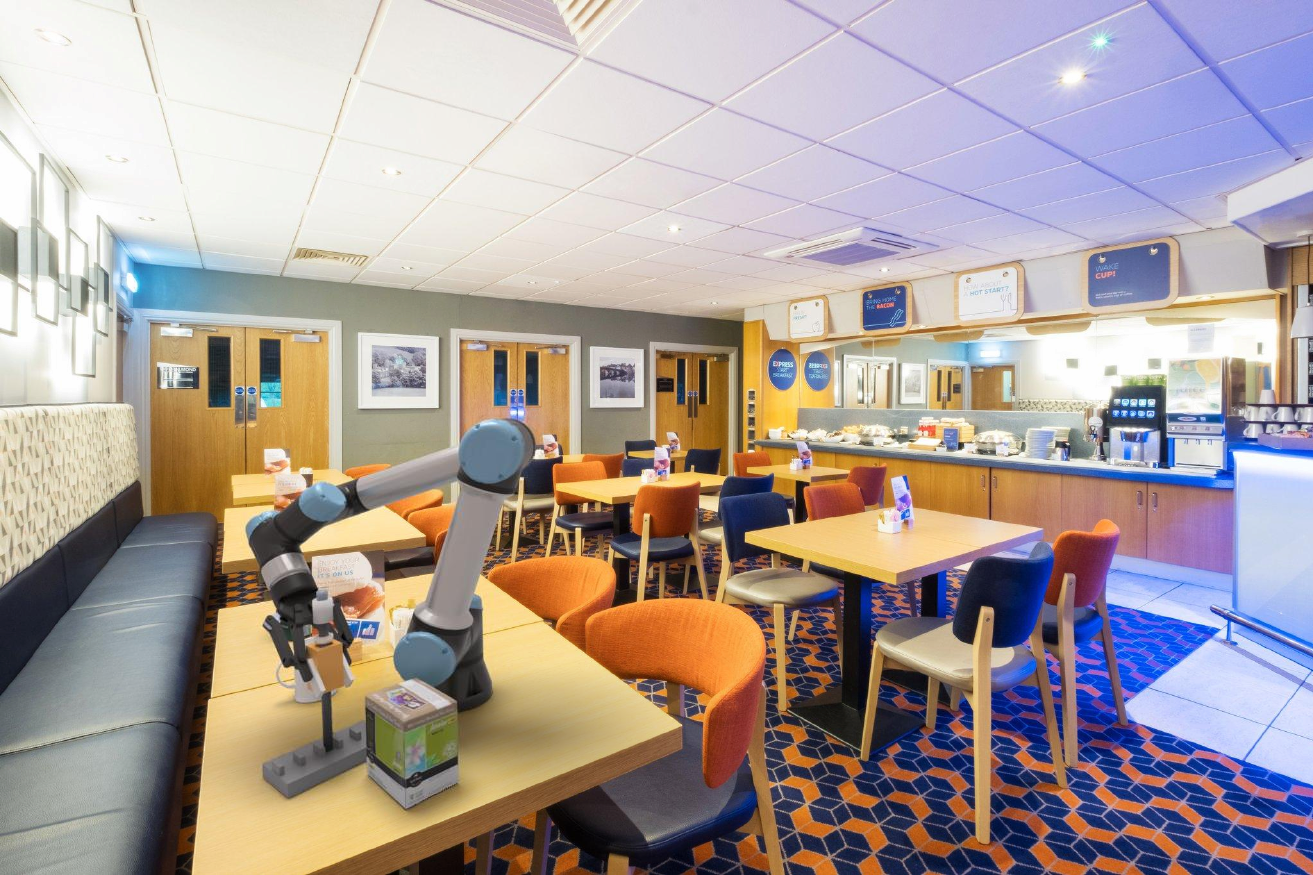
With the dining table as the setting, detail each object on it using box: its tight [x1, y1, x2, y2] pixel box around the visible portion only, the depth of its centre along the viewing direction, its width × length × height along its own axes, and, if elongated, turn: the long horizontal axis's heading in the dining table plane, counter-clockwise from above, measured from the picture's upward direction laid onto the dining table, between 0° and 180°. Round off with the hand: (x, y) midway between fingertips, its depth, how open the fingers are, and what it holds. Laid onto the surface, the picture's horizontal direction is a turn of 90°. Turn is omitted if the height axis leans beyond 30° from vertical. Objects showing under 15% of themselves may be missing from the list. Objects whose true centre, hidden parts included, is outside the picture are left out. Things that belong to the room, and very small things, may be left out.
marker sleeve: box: [306, 639, 345, 693], centre depth 111 cm, size 4×4×8 cm
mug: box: [275, 636, 338, 704], centre depth 138 cm, size 12×8×12 cm
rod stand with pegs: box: [261, 589, 367, 799], centre depth 111 cm, size 18×10×32 cm, turn 144°
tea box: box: [364, 678, 459, 810], centre depth 107 cm, size 15×10×15 cm, turn 48°
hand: (335, 688), depth 109 cm, fingers closed on marker sleeve, 4 cm apart
